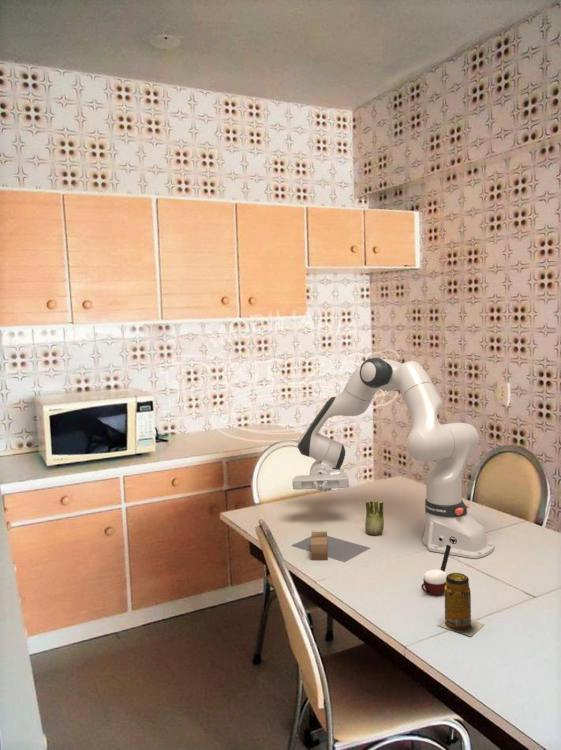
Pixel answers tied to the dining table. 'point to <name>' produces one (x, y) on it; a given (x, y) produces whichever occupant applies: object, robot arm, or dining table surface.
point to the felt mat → (335, 548)
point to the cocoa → (436, 577)
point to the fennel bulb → (374, 518)
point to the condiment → (459, 605)
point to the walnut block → (319, 545)
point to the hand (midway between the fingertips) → (320, 487)
